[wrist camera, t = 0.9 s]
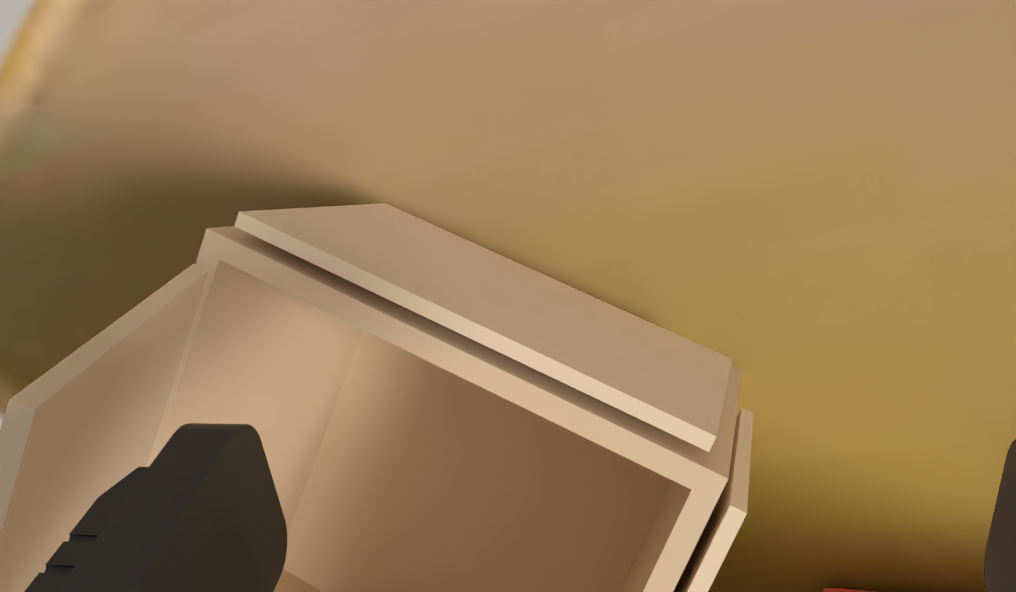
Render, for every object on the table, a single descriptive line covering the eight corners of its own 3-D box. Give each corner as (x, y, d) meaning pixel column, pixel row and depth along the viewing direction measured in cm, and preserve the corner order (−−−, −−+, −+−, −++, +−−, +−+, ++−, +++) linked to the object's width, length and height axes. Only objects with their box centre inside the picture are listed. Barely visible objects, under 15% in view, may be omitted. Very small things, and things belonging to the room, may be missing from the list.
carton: (402, 195, 34) (214, 202, 22) (770, 359, 31) (772, 465, 19) (262, 578, 38) (42, 752, 26) (578, 758, 35) (484, 1043, 23)
